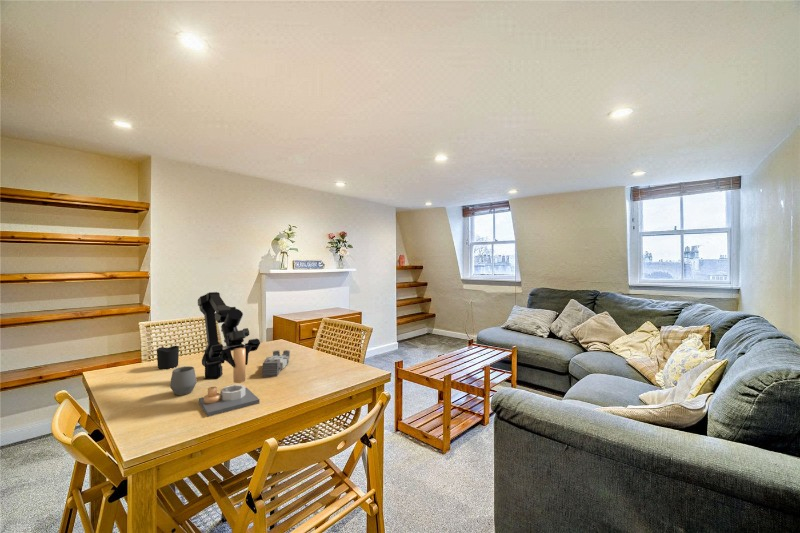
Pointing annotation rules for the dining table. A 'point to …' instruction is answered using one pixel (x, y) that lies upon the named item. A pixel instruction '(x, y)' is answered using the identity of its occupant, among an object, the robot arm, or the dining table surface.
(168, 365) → the pen holder
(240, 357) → the tan peg
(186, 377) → the cup
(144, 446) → the dining table surface
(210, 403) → the octagonal socket plate
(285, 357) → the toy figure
